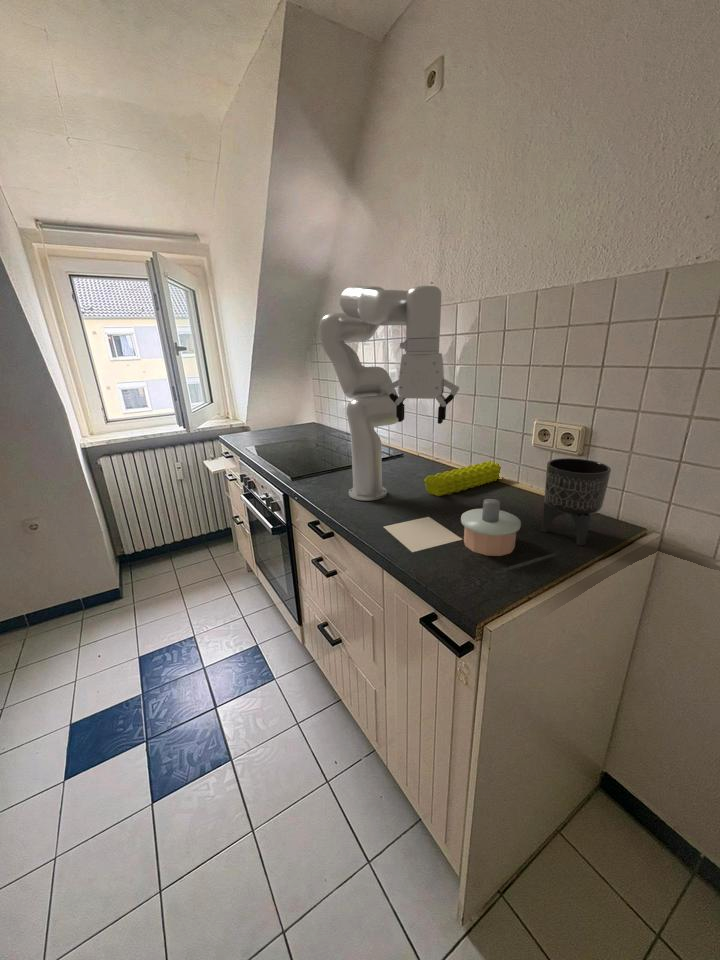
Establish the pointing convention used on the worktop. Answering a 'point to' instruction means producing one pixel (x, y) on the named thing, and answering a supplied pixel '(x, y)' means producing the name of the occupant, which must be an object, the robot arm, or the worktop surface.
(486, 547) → the bowl
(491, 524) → the lid
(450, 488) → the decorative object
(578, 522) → the planter
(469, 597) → the worktop surface
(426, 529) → the mat
